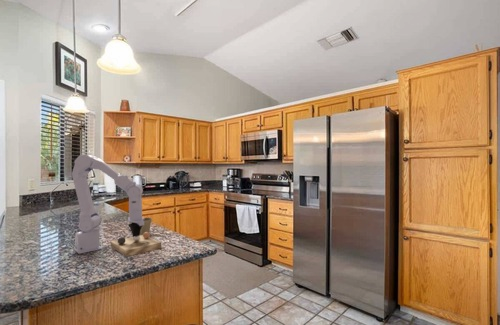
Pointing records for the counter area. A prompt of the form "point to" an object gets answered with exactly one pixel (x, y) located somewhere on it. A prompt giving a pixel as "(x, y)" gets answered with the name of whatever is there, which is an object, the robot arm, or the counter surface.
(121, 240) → the black rubber ball
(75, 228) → the counter surface
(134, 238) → the steel ball
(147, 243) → the board
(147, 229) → the flower pot
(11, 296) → the counter surface
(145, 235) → the terracotta ball
